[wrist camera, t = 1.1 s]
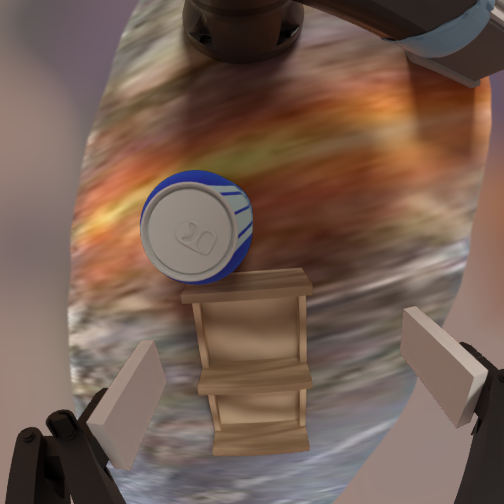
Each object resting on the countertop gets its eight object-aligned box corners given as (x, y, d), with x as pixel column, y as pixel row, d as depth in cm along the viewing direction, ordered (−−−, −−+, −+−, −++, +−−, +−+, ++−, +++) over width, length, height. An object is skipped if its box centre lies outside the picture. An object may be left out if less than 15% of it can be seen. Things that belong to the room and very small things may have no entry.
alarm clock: (397, -24, 27) (443, -85, 9) (461, 6, 27) (518, -35, 9) (405, 60, 31) (482, 2, 13) (475, 91, 31) (556, 63, 13)
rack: (193, 275, 36) (180, 294, 29) (301, 267, 36) (312, 285, 29) (218, 423, 41) (213, 455, 34) (302, 418, 41) (309, 450, 34)
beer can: (198, 261, 36) (159, 311, 20) (170, 196, 34) (110, 200, 19) (263, 234, 35) (272, 267, 20) (236, 167, 34) (222, 146, 18)
